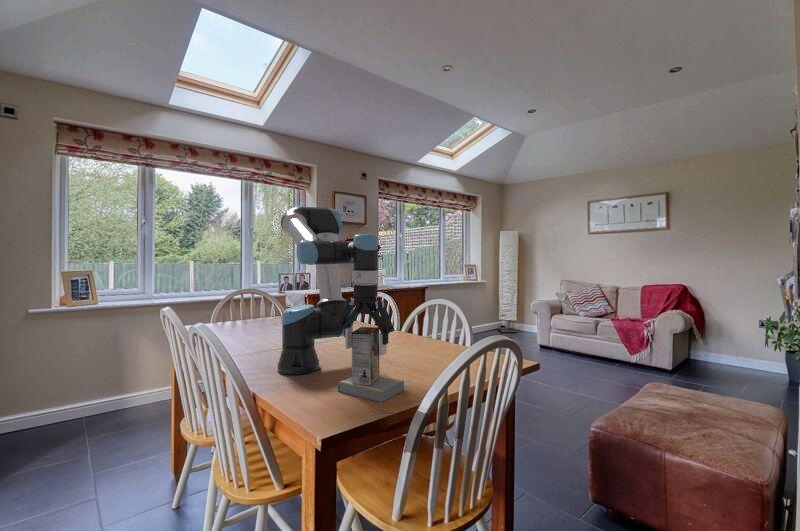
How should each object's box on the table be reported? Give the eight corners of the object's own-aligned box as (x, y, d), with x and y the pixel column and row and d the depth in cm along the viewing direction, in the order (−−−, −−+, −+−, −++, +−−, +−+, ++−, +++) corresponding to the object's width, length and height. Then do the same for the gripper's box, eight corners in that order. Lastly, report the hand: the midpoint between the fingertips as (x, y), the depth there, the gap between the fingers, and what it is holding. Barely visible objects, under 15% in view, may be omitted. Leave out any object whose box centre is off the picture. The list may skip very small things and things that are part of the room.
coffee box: (361, 375, 126) (361, 326, 125) (380, 376, 124) (379, 327, 124) (351, 384, 117) (351, 331, 116) (371, 385, 115) (371, 332, 115)
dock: (337, 390, 120) (337, 381, 120) (362, 380, 130) (362, 371, 130) (381, 402, 110) (381, 391, 110) (404, 390, 120) (404, 380, 120)
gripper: (328, 282, 123) (328, 347, 124) (391, 287, 110) (391, 360, 110) (343, 281, 130) (343, 343, 131) (405, 285, 116) (405, 354, 117)
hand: (365, 351), depth 120 cm, fingers open, 13 cm apart
